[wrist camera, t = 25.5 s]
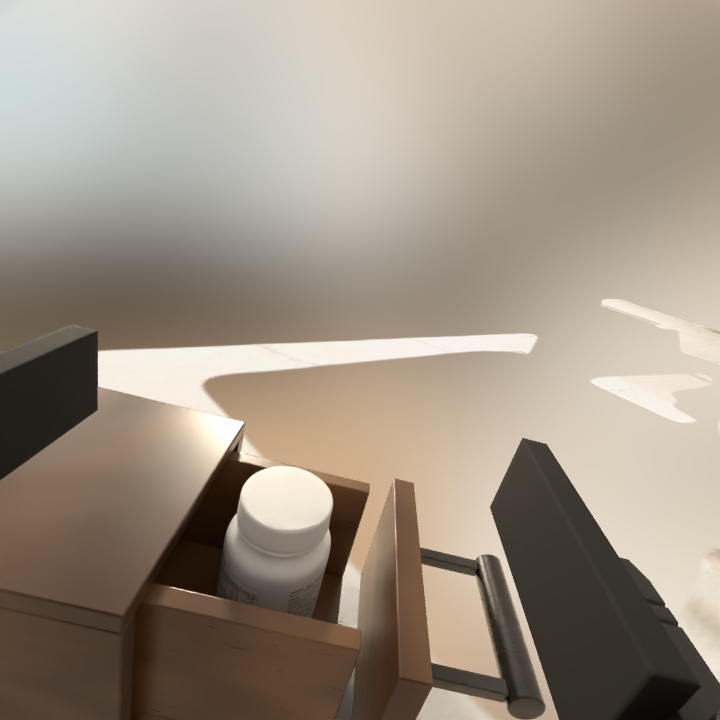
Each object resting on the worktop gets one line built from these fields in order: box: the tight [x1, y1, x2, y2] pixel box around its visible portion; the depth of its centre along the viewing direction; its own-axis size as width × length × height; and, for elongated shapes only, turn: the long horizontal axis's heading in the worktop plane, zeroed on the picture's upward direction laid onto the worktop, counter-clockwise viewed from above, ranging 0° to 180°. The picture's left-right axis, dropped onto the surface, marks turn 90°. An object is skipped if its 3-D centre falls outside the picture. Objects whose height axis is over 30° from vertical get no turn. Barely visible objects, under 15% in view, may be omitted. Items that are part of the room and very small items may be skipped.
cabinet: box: [0, 387, 245, 720], centre depth 19 cm, size 15×12×10 cm
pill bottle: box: [216, 466, 333, 618], centre depth 19 cm, size 5×5×8 cm
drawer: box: [130, 451, 545, 720], centre depth 20 cm, size 19×10×8 cm, turn 87°
